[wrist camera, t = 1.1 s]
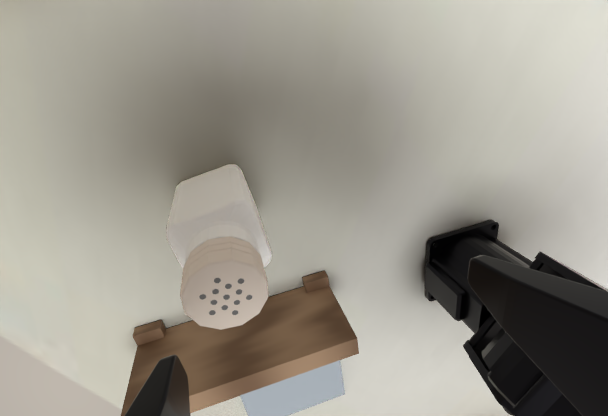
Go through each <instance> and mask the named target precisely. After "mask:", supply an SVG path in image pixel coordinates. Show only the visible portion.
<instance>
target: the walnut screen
mask: <svg viewBox="0 0 608 416" xmlns="http://www.w3.org/2000/svg"><path fill="white" fill-rule="evenodd" d="M302 279H303V284H304V287H300V288H297V289H294V290H291V291H287V292H284V293H281V294H278V295H274V296H271V297H268V299H267V300H266V302H265V304H264V306H263V308H262V309H261V311H260V313H259V314H258V315H256V316H255V317H253V318H252V319H250V320H249V321H247V322H246V323H244V324H243V325H240V326H236V327H231V328H226V329H222V330H220V329H214V328H209V327H204V326H200V325H198V324H197V323H196V322H195V321H190V322H186V323H183V324H180V325H177V326H173V327H170V328H167V329H166V328H165V326H164V324H163V322H162V320H159V321H156V322H152V323H149V324H146V325H143V326H139V327H136V328H135V329H134V333H133V338H134V340H135V342H136V343H137V345H138V347H137V351H136V355H135V359H134V363H133V367H132V371H131V376H130V380H129V384H128V388H127V392H126V396H125V400H124V405H123V409H122V413H121V416H124V415H125V414H126V412H127V410H128V409H129V407H130V406H131V404H132V402H133V401H134V399H135V398H136V396H137V395H138V393H139V391H140V390H141V388H142V387H143V385H144V383H145V382H146V380H147V379H148V377H149V375H150V374H151V372H152V371H153V369H154V367H155V366H156V364H157V363H158V361H159V360H160V359H162V358H164V357H167V356H170V355H177V356H178V357H179V359H180V361H181V363H182V365H183V367H184V369H185V371H186V373H187V377H188V384H189V402H190V413H192V412H195V411H198V410H201V409H203V408H206V407H209V406H212V405H215V404H217V403H220V402H223V401H226V400H229V399H232V398H234V397H237V396H240V395H243V394H246V393H248V392H251V391H254V390H257V389H260V388H263V387H265V386H268V385H271V384H274V383H277V382H280V381H282V380H285V379H288V378H291V377H294V376H296V375H299V374H302V373H305V372H308V371H311V370H313V369H316V368H319V367H322V366H325V365H327V364H330V363H333V362H336V361H339V360H342V359H344V358H347V357H350V356H353V355H356V354H359V351H358V342H357V337H356V335H355V333H354V331H353V330H352V328H351V326H350V324H349V322H348V320H347V318H346V316H345V315H344V313H343V311H342V309H341V307H340V305H339V303H338V301H337V299H336V298H335V296H334V294H333V292H332V290H331V288H330V286H329V281H328V276H327V274H326V272H325V271H321V272H318V273H315V274H312V275H308V276H305V277H302Z"/></svg>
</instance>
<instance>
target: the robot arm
mask: <svg viewBox="0 0 608 416" xmlns="http://www.w3.org/2000/svg"><path fill="white" fill-rule="evenodd" d="M498 227H499V224H498V223H497V222H495V221H493V220H490V221H487V222H483V223H480V224H477V225H473V226H470V227H467V228H464V229H460V230H457V231H454V232H450V233H447V234H444V235H440V236H437V237H434V238H431V239H430V240H429V241H428V242H427V258H426V272H425V288H426V293H425V296H426V298H427V299H428V300H429V301H434V300H437V301H438V302H439V303H440V304H441V305H442V306H443V307H444V309H445V310H446V311H447V312H448V313H449V314H450V315H451V316H452V317H453V318H454V319H455V320H457V321H460V320H462V321H463V322H464V323H465V324H466V325H467V326H468V327H469V328H470V329H471V330H472V331H473V332H474V333H475V334H474V335H473V336H472V337H471V339H470V340H467V341H466V343H465V344H464V345H463V347H464V349H465V350H466V352H467V353H468V355H469V358H470V359H471V361H472V362H473V364H474V365H475V367H476V369H477V370H478V372H479V373H480V375H481V376H482V378H483V379H484V381H485V383H486V384H487V386H488V387H489V389H490V390H491V392H492V394H493V395H494V397H495V398H496V400H497V401H498V403H499V404H500V405H502V406H503V408H504V410H505V411H506V412H507V413H508V414H510V415H513V416H608V289H606V288H604V287H602V286H601V285H599V284H597V283H595V282H594V281H592V280H590V279H588V278H587V277H585V276H583V275H582V274H580V273H578V272H576V271H575V270H573V269H571V268H569V267H567V266H566V265H564V264H562V263H560V262H558V261H556V260H555V259H553V258H551V257H549V256H547V255H545V254H544V253H542V252H539V253H538V254H537V256H536V257H535V258H536V259H535V260H534V262H532V261H530V260H529V259H527V258H526V257H524V256H522V255H521V254H519V253H518V252H516V251H514V250H513V249H511V248H510V247H508V246H507V245H505V244H503V243H502V242H500V241H499V240H497V234H498ZM434 243H435V244H434ZM433 244H434V245H433ZM124 416H190V402H189V384H188V377H187V373H186V371H185V369H184V367H183V365H182V363H181V361H180V359H179V357H178V356H177V355H170V356H167V357H164V358H162V359H160V360H159V361H158V363H157V364H156V366H155V367H154V369H153V371H152V372H151V374H150V375H149V377H148V379H147V380H146V382H145V383H144V385H143V387H142V388H141V390H140V391H139V393H138V395H137V396H136V398H135V399H134V401H133V402H132V404H131V406H130V407H129V409H128V410H127V412H126V414H125V415H124Z"/></svg>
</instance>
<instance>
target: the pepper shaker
mask: <svg viewBox="0 0 608 416" xmlns="http://www.w3.org/2000/svg"><path fill="white" fill-rule="evenodd" d="M166 234H167V241H168V243H169V245H170V247H171V249H172V251H173V253H174V255H175V256H176V258H177V260H178V262H179V263H180V265H181V267H182V268H183V276H182V284H181V292H180V297H181V301H182V305H183V309H184V313H185V314H186V315H187V316H189V317H190V318H191V319H192V320H193V321H195V322H196V323H197V324H198V325H200V326H204V327H209V328H214V329H220V330H222V329H226V328H231V327H236V326H240V325H243V324H244V323H246V322H247V321H249V320H250V319H252V318H253V317H255V316H256V315H258V314H259V313H260V311H261V309H262V308H263V306H264V304H265V302H266V300H267V299H268V297H269V294H268V283H267V277H266V273H265V269H264V268H265V267H266V266H267V265H268V264H269V263H270V261H271V258H272V251H271V248H270V245H269V242H268V239H267V236H266V233H265V230H264V227H263V224H262V221H261V218H260V215H259V212H258V209H257V206H256V204H255V201H254V199H253V196H252V194H251V192H250V189H249V187H248V184H247V182H246V179H245V177H244V175H243V172H242V170H241V169H240V168H239V167H238V166H237V165H234V164H228V165H225V166H222V167H220V168H217V169H214V170H211V171H209V172H206V173H203V174H201V175H198V176H195V177H192V178H190V179H187V180H184V181H182V182H181V183H180V184H179V185H178V186H176V190H175V194H174V198H173V202H172V206H171V211H170V215H169V219H168V223H167V227H166Z"/></svg>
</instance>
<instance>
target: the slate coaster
mask: <svg viewBox="0 0 608 416" xmlns="http://www.w3.org/2000/svg"><path fill="white" fill-rule="evenodd" d="M344 394H345V390H344V384H343V377H342V371H341V364H340V360H339V361H336V362H333V363H330V364H327V365H325V366H322V367H319V368H316V369H313V370H311V371H308V372H305V373H302V374H299V375H296V376H294V377H291V378H288V379H285V380H282V381H280V382H277V383H274V384H271V385H268V386H265V387H263V388H260V389H257V390H254V391H251V392H248V393H246V394H243V395H240V396H241V399H242V402H243V404H244V407H245V409H246V412H247V414H248V416H288V415H291V414H293V413H296V412H299V411H301V410H304V409H307V408H309V407H312V406H315V405H317V404H320V403H323V402H325V401H328V400H331V399H333V398H336V397H339V396H341V395H344Z"/></svg>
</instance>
